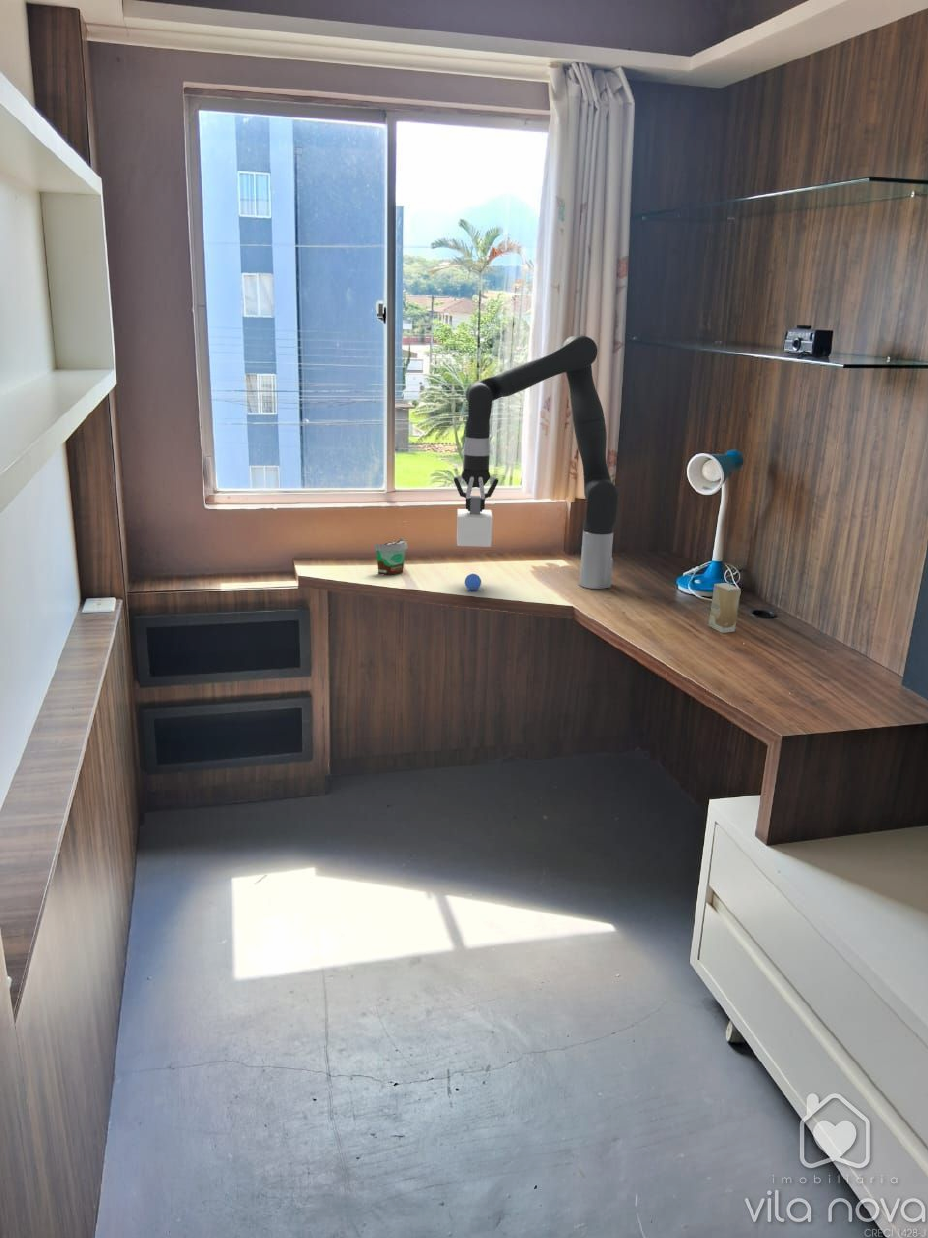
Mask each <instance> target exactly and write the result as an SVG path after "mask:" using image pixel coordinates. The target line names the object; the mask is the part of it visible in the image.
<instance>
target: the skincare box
mask: <svg viewBox="0 0 928 1238" xmlns="http://www.w3.org/2000/svg"><path fill="white" fill-rule="evenodd" d="M713 585H714V586H713V592H712V598H711V606H710V614H709V620H708V627H710V628H712V629H714V630H716V631H717V632H719V633H721V634H725V633H734V632H735V630H736V624H737V617H738V611H739V610H738V609H739V605H740V599H741V598H740V596H741V590H742V589H741V588H739V587H737V586H735V585H732V584H730V583H728V582H723V583H722V582H721V583H720V582H719V583H714V584H713Z"/></svg>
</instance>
